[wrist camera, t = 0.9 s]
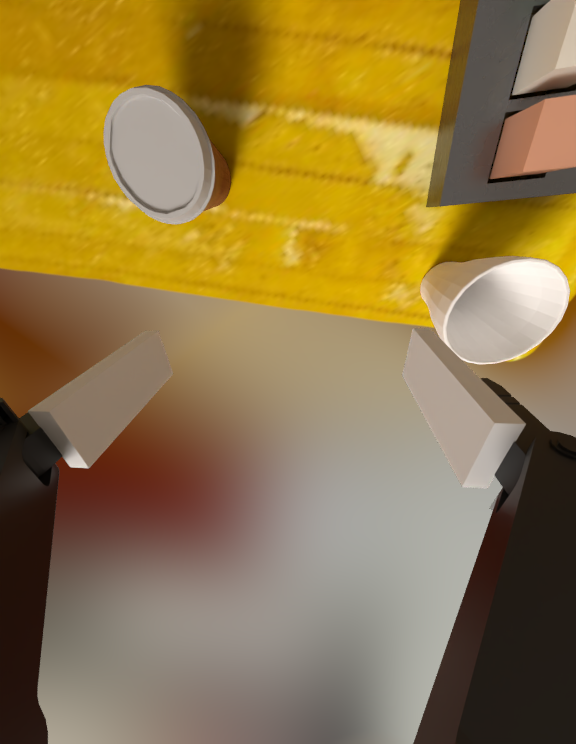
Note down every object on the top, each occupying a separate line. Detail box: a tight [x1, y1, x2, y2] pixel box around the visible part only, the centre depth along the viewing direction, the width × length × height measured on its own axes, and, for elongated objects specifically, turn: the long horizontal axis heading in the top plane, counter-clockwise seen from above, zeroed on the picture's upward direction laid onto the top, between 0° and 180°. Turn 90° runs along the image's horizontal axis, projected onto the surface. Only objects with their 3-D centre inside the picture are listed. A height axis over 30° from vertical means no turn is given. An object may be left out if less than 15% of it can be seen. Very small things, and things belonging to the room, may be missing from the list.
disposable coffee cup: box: [104, 85, 231, 224], centre depth 27 cm, size 10×10×12 cm
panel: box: [426, 0, 576, 207], centre depth 23 cm, size 21×14×4 cm, turn 5°
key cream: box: [512, 0, 576, 95], centre depth 20 cm, size 5×5×5 cm
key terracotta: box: [490, 95, 576, 179], centre depth 23 cm, size 5×5×5 cm
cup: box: [420, 256, 570, 364], centre depth 30 cm, size 10×10×14 cm
